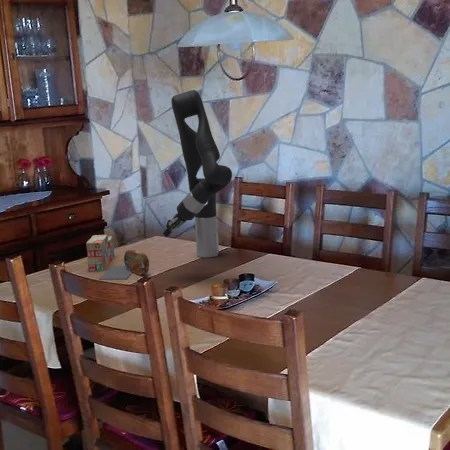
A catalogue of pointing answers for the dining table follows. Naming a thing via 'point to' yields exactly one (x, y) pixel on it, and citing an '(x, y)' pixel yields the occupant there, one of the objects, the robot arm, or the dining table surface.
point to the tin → (136, 262)
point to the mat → (116, 273)
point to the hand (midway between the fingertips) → (165, 235)
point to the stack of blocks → (100, 252)
